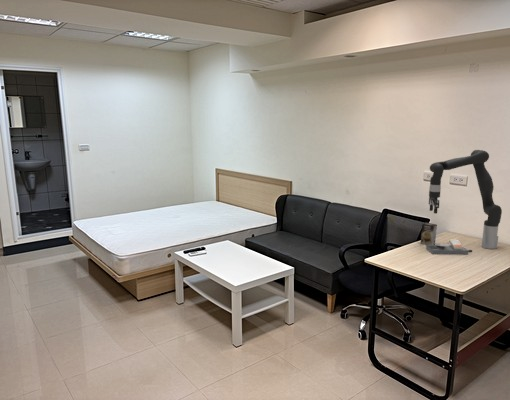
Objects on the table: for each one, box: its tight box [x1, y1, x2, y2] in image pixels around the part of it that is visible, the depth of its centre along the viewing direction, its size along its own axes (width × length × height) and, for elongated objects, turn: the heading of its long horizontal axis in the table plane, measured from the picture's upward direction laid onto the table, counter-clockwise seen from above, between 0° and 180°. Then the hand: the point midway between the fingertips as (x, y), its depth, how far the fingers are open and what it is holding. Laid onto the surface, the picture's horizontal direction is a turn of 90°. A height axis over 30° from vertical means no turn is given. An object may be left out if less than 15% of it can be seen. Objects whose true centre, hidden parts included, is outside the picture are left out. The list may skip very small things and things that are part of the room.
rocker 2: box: [448, 239, 464, 249], centre depth 281 cm, size 6×10×2 cm, turn 176°
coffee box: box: [420, 222, 438, 246], centre depth 299 cm, size 9×6×16 cm
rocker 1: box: [435, 241, 450, 246], centre depth 282 cm, size 6×10×2 cm, turn 176°
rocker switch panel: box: [425, 244, 473, 256], centre depth 282 cm, size 30×12×4 cm, turn 86°
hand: (433, 212), depth 286 cm, fingers open, 8 cm apart
